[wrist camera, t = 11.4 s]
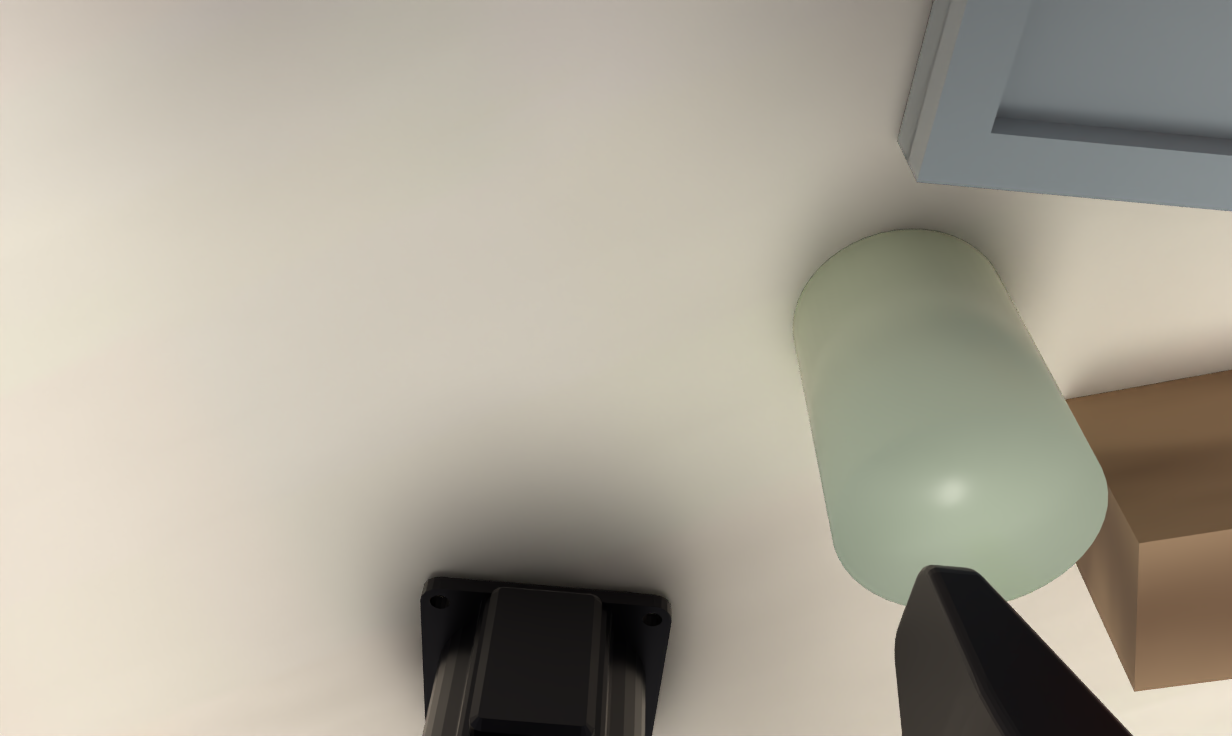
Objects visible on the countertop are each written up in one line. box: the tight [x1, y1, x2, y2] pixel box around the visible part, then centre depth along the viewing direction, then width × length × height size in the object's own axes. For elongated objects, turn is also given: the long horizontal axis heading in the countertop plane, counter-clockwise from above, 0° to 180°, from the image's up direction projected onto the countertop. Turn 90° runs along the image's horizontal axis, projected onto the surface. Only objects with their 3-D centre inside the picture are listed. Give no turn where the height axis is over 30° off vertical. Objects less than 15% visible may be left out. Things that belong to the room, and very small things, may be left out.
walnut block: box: [1065, 370, 1232, 692], centre depth 22 cm, size 4×4×4 cm
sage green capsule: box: [793, 229, 1108, 606], centre depth 19 cm, size 4×4×6 cm
